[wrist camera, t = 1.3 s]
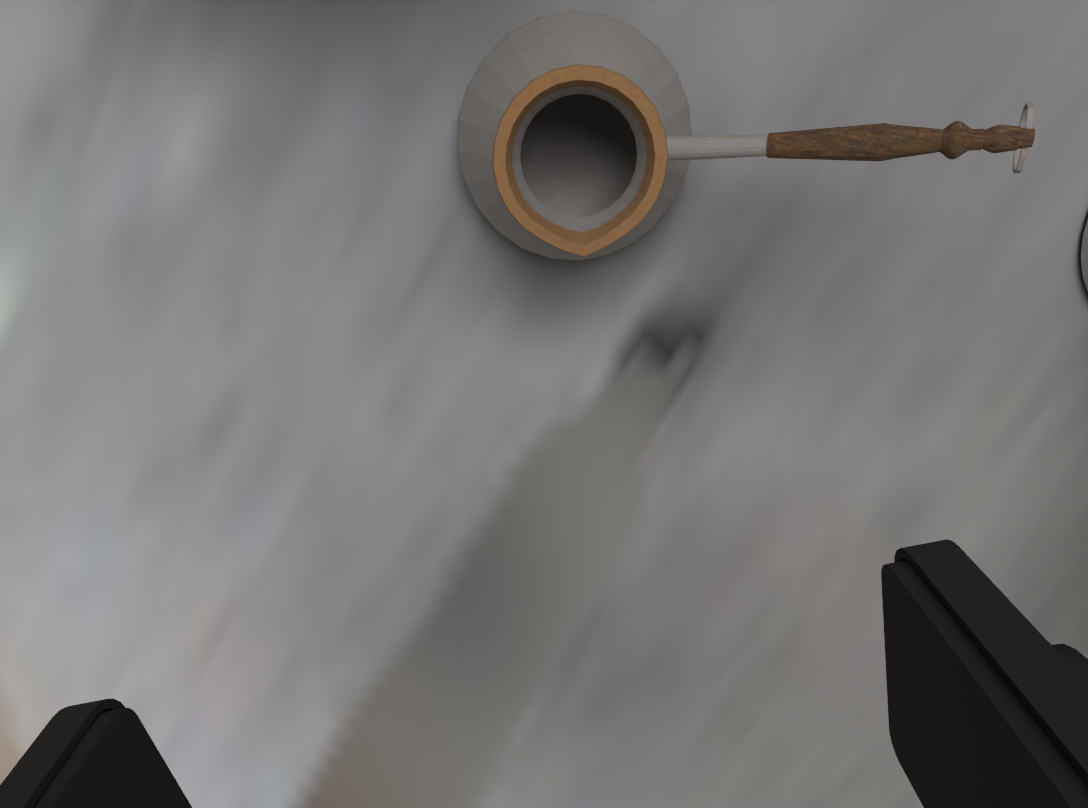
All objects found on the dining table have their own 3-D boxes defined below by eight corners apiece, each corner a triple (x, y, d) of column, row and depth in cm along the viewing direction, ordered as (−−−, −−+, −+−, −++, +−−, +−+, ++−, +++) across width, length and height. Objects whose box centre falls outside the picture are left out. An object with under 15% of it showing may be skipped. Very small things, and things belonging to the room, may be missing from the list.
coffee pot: (474, 255, 41) (432, 338, 27) (452, 24, 36) (389, -17, 23) (861, 234, 40) (1021, 308, 26) (887, -4, 36) (1097, -65, 22)
